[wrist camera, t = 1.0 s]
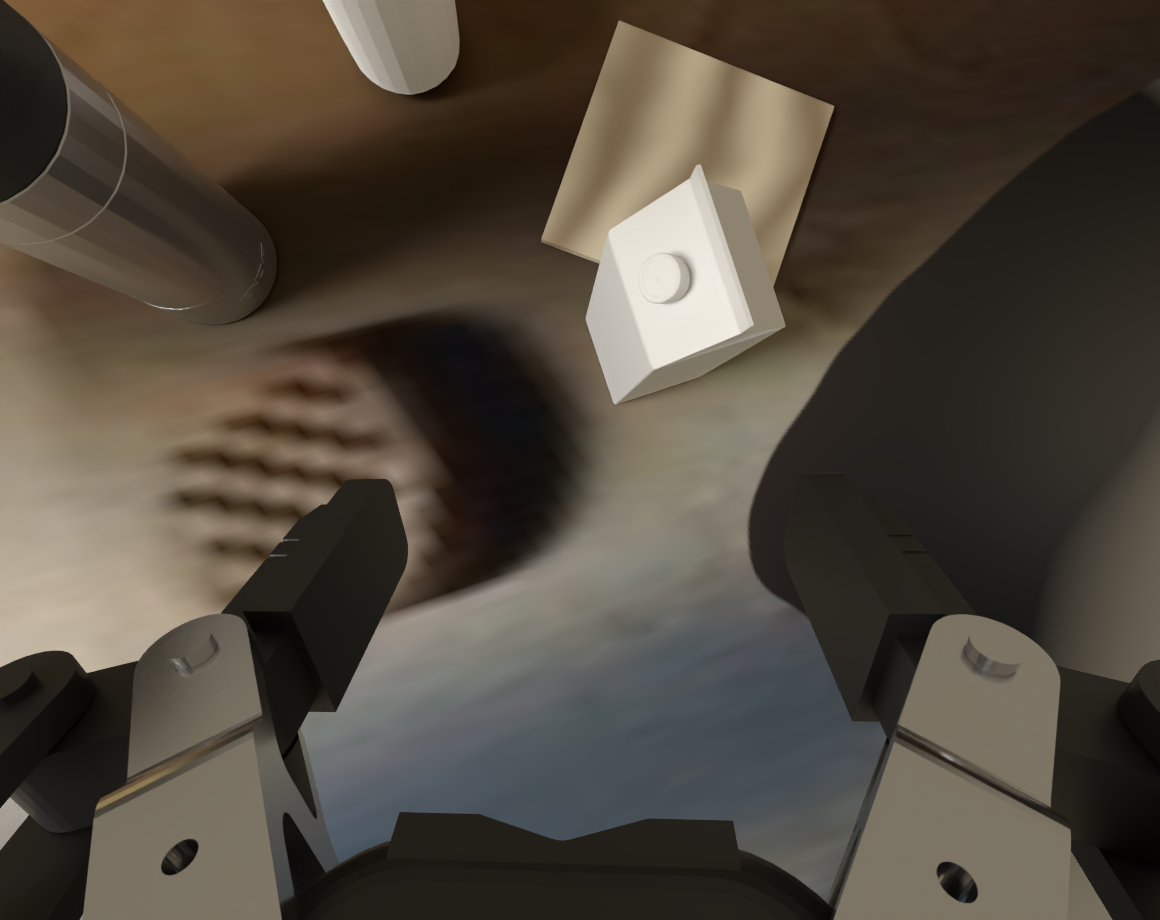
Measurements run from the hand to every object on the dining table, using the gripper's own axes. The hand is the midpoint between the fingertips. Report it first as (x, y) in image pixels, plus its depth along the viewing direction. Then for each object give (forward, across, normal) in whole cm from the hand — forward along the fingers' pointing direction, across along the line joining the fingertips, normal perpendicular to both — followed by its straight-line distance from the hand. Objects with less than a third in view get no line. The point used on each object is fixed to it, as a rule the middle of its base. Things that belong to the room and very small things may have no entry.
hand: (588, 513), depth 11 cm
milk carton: (+31, -3, +7) cm, 32 cm away
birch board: (+39, -7, -4) cm, 39 cm away
